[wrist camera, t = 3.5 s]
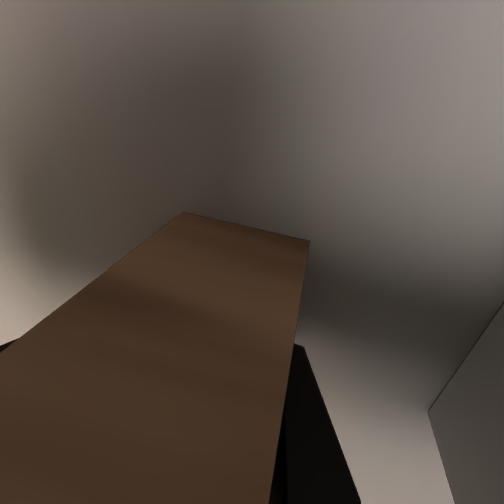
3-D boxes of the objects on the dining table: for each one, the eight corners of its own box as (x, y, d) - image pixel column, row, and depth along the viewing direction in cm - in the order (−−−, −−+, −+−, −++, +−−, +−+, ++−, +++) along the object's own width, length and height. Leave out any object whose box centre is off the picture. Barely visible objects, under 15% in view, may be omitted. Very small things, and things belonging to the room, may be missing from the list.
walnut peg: (284, 340, 11) (195, 785, 4) (179, 310, 11) (-64, 653, 4) (309, 241, 9) (222, 788, 2) (182, 212, 9) (-252, 547, 2)
